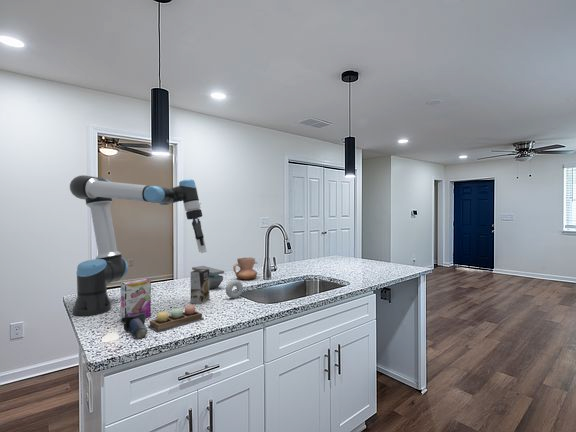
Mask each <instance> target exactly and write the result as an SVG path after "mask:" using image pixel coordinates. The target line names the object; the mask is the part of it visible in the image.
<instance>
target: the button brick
mask: <svg viewBox="0 0 576 432" xmlns="http://www.w3.org/2000/svg"><path fill="white" fill-rule="evenodd" d="M195 311H196V306H195V304H189V305H185V306H184V312H185V314H193V313H195Z"/></svg>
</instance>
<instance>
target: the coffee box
mask: <svg viewBox="0 0 576 432" xmlns="http://www.w3.org/2000/svg"><path fill="white" fill-rule="evenodd" d="M209 300H210V289H209V269H198V270H192V271H190V304H194V305H196V304H197V305H202V304H204V303H206V302H207V301H209Z"/></svg>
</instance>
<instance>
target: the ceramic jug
mask: <svg viewBox="0 0 576 432" xmlns="http://www.w3.org/2000/svg"><path fill="white" fill-rule="evenodd" d="M236 262H237V263H235V264H234V265H233V266H232V267H233V268H232V269H233V272H234V274H235V276H236V278H237V279H238V280H243V281H249V280H254V279H255V278H256V277H257V276H258V272H257V271H256V270H255V269H254V266H255V264H259V262H258V261H256V257H253V256H252V257H251V256H250V257H248V256H247V257H239V258H237V260H236ZM236 267H238V268H240V269H239V270H238V271H236Z"/></svg>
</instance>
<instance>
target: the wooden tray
mask: <svg viewBox="0 0 576 432" xmlns="http://www.w3.org/2000/svg"><path fill="white" fill-rule="evenodd" d="M203 320H204V317H203V314H202V313H201V312H199V311H197V310H195V313H193V314H185V311H184V312H183V311H182V316H181V317H177V318H173V317H171V315H168V320H166V321H157V318H156V319H152V320H150V321H149V325H148V326H147V328H149V329H151V330H152V331H154V332H156V333H161V332H165V331H168V330H171V329H172V330H173V329H174V328H175V327H176V328H178V327H181V326H182V325H183V326H186V325H190V324H192V323H196V322H200V321H203ZM176 328H175V329H176Z"/></svg>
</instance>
